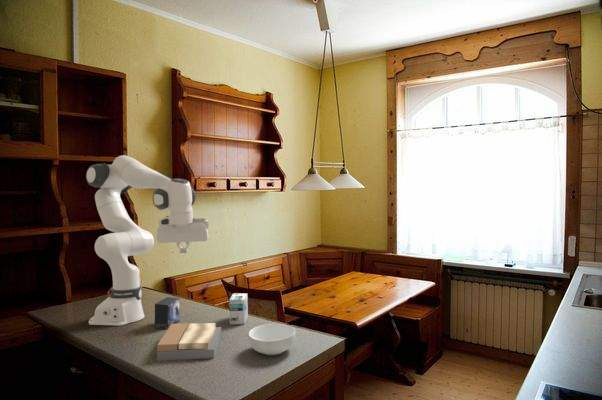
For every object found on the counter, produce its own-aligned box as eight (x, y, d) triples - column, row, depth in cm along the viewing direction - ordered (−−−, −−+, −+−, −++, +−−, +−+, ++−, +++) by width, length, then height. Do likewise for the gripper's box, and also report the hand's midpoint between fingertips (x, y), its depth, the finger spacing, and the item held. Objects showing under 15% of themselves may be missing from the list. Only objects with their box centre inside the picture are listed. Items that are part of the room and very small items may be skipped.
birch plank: (178, 349, 137) (178, 343, 137) (189, 328, 157) (189, 323, 157) (208, 348, 138) (208, 342, 138) (215, 328, 158) (215, 323, 158)
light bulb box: (245, 324, 170) (244, 299, 170) (229, 324, 170) (228, 299, 170) (248, 316, 181) (247, 292, 181) (233, 316, 181) (232, 292, 180)
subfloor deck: (157, 360, 135) (156, 345, 135) (172, 336, 157) (171, 323, 157) (214, 358, 137) (213, 343, 137) (221, 334, 159) (220, 321, 159)
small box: (168, 329, 165) (167, 304, 165) (154, 328, 166) (153, 303, 166) (180, 321, 175) (180, 297, 175) (167, 320, 177) (166, 296, 176)
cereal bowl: (262, 339, 154) (262, 320, 154) (302, 345, 148) (302, 326, 147) (239, 356, 138) (239, 336, 138) (283, 364, 132) (283, 343, 132)
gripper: (209, 216, 165) (211, 249, 167) (158, 218, 164) (160, 251, 165) (206, 219, 159) (208, 253, 160) (154, 221, 158) (156, 255, 159)
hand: (183, 252), depth 163 cm, fingers closed
